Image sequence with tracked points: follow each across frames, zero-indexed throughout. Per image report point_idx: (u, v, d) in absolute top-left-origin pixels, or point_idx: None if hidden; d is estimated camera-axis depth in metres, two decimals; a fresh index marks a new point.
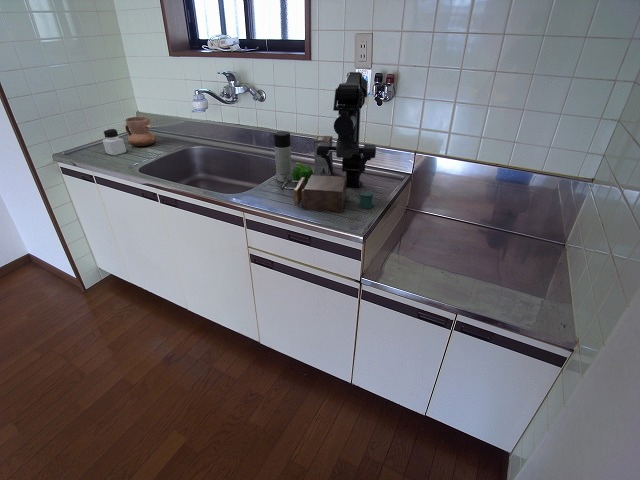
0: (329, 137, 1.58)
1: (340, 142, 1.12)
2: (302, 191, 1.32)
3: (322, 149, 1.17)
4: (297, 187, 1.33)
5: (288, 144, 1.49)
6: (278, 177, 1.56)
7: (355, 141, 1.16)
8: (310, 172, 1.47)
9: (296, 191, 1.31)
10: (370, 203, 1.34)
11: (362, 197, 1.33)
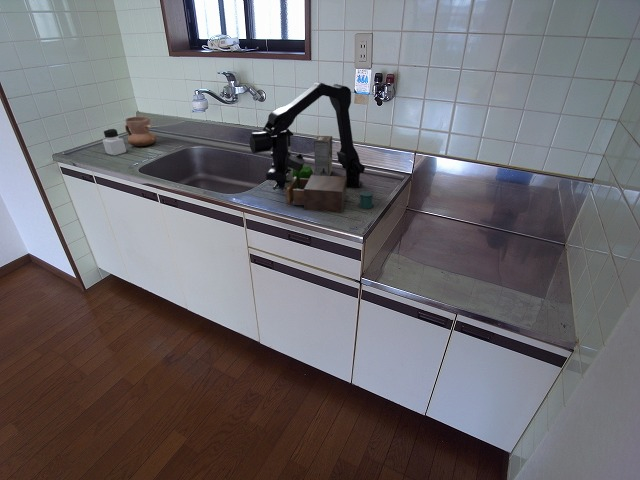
0: (329, 137, 1.58)
1: (293, 159, 1.31)
2: (294, 190, 1.32)
3: (283, 173, 1.28)
4: (289, 186, 1.34)
5: (288, 144, 1.49)
6: None
7: None
8: (310, 172, 1.47)
9: (288, 190, 1.32)
10: (370, 203, 1.34)
11: (362, 197, 1.33)
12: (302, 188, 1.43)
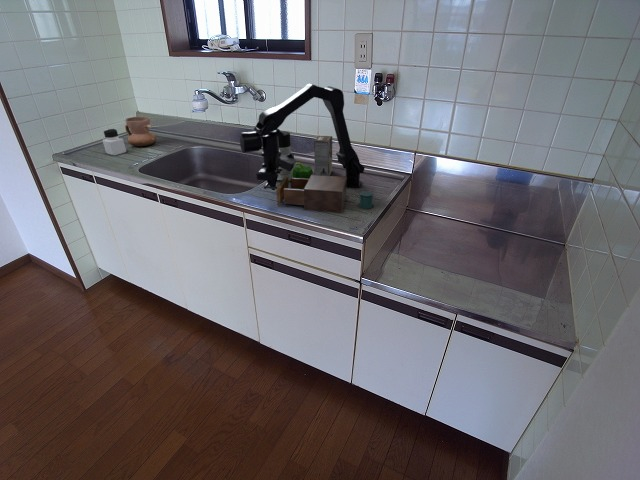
0: (329, 137, 1.58)
1: (284, 159, 1.31)
2: (284, 190, 1.33)
3: (274, 173, 1.28)
4: (279, 186, 1.34)
5: (288, 144, 1.49)
6: (278, 177, 1.56)
7: None
8: (310, 172, 1.47)
9: (278, 190, 1.32)
10: (370, 203, 1.34)
11: (362, 197, 1.33)
12: (293, 187, 1.43)
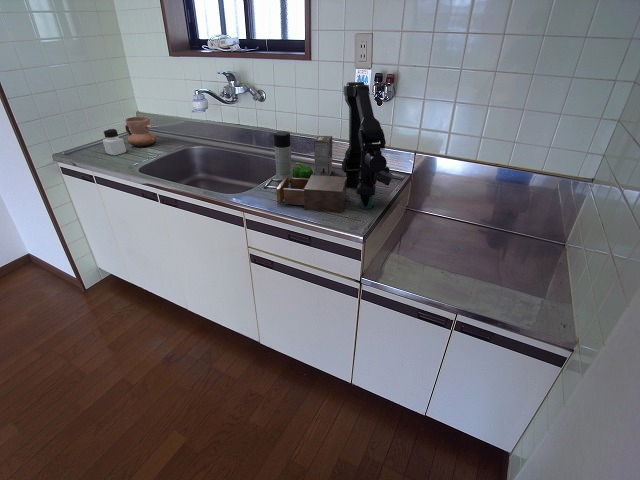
0: (329, 137, 1.58)
1: (383, 173, 1.28)
2: (284, 190, 1.33)
3: (375, 188, 1.24)
4: (279, 186, 1.34)
5: (288, 144, 1.49)
6: (278, 177, 1.56)
7: None
8: (310, 172, 1.47)
9: (278, 190, 1.32)
10: (370, 203, 1.34)
11: None
12: (293, 187, 1.43)
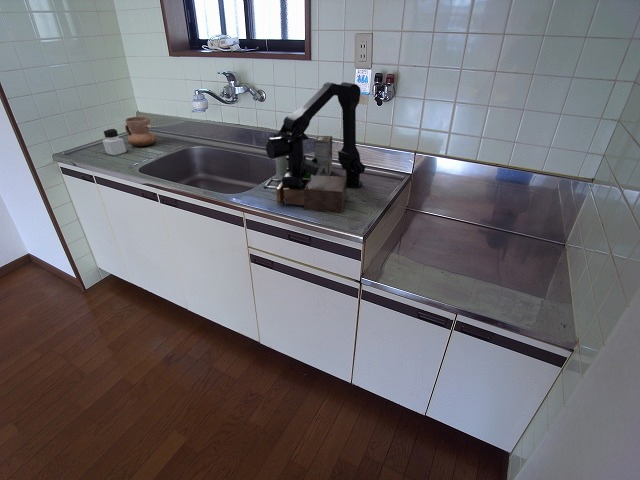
0: (329, 137, 1.58)
1: (309, 163, 1.31)
2: (284, 190, 1.33)
3: (299, 177, 1.27)
4: (279, 186, 1.34)
5: None
6: (278, 177, 1.56)
7: None
8: None
9: (278, 190, 1.32)
10: None
11: None
12: None
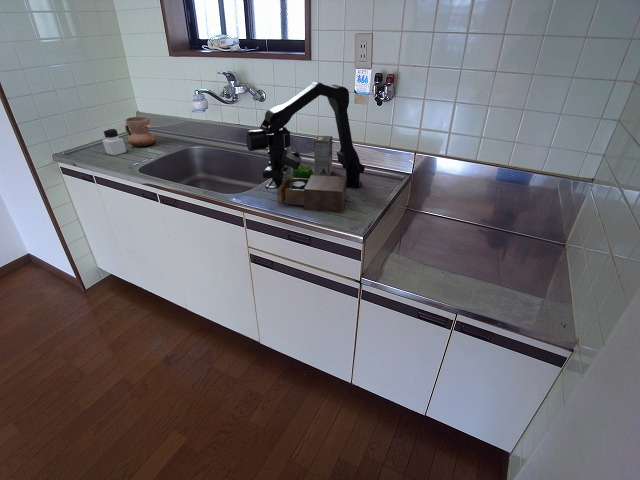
0: (329, 137, 1.58)
1: (290, 157, 1.31)
2: (286, 190, 1.33)
3: (280, 171, 1.28)
4: (281, 186, 1.34)
5: (288, 144, 1.49)
6: None
7: None
8: (310, 172, 1.47)
9: (280, 190, 1.32)
10: None
11: (293, 187, 1.36)
12: None
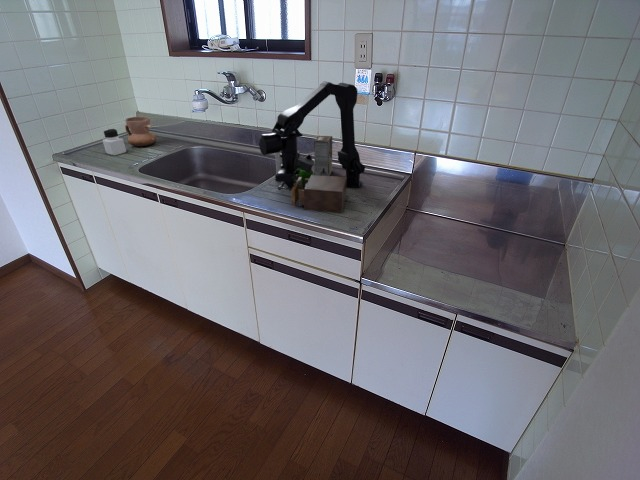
0: (329, 137, 1.58)
1: (303, 160, 1.30)
2: (299, 191, 1.32)
3: (293, 174, 1.27)
4: (294, 187, 1.33)
5: None
6: None
7: None
8: (310, 172, 1.47)
9: (293, 191, 1.31)
10: None
11: None
12: None
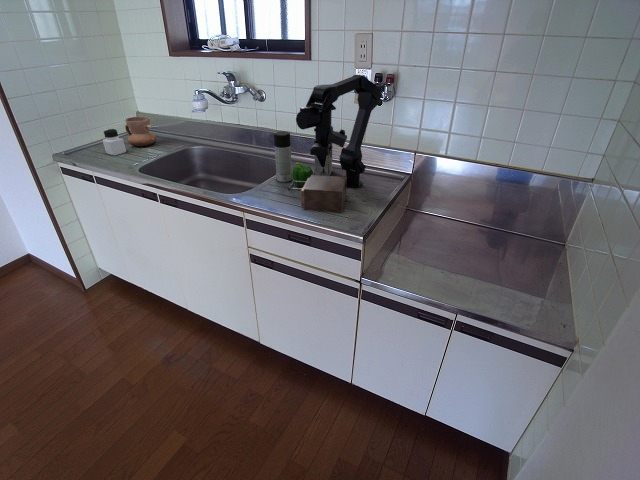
0: None
1: (337, 135, 1.29)
2: None
3: (328, 148, 1.26)
4: (304, 187, 1.33)
5: (288, 144, 1.49)
6: (278, 177, 1.56)
7: None
8: (310, 172, 1.47)
9: (303, 191, 1.31)
10: None
11: None
12: None
